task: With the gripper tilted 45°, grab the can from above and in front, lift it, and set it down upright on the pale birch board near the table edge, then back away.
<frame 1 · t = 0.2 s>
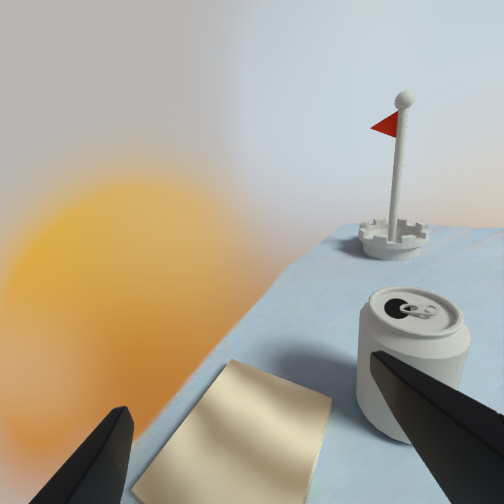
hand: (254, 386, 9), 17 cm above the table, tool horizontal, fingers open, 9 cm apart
flag stand: (390, 250, 55), on the table
board: (244, 449, 22), on the table
can: (397, 409, 24), on the table
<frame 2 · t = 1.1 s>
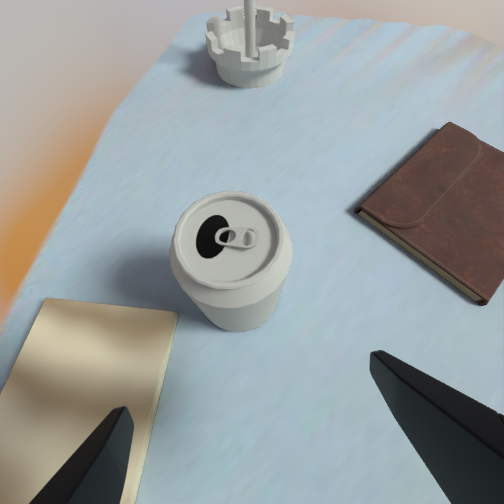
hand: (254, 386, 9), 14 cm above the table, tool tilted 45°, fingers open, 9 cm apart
flag stand: (250, 68, 41), on the table
board: (89, 391, 21), on the table
can: (239, 294, 25), on the table
notebook: (453, 205, 30), on the table
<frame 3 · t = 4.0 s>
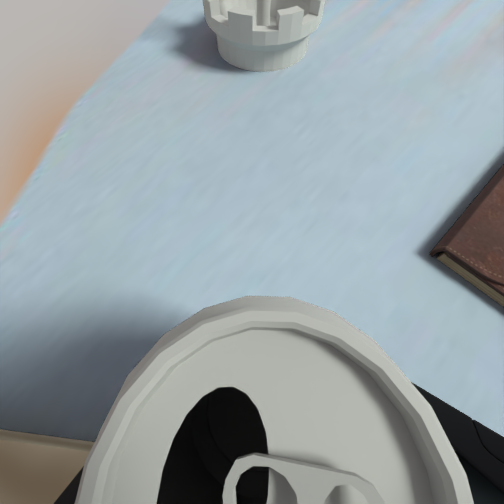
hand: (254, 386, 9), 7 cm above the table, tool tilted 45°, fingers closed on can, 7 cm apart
flag stand: (262, 47, 31), on the table
can: (258, 405, 15), on the table, touching gripper
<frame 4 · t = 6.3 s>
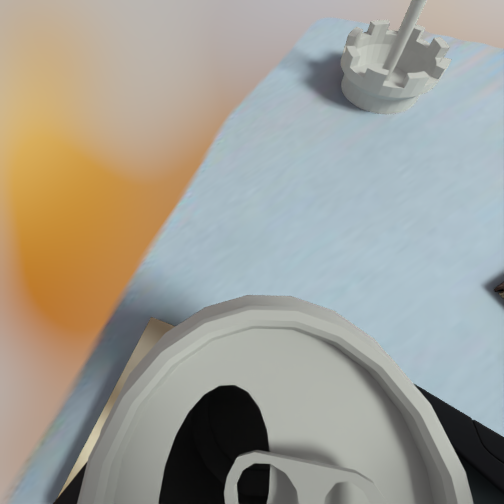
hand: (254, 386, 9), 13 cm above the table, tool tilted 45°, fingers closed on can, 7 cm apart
flag stand: (378, 90, 37), on the table
board: (181, 433, 19), on the table
can: (258, 404, 15), point 6 cm above the table, touching gripper
when the fingers open (9 cm above the table, at t = 9.0 s): can stays where it is, resting on board.
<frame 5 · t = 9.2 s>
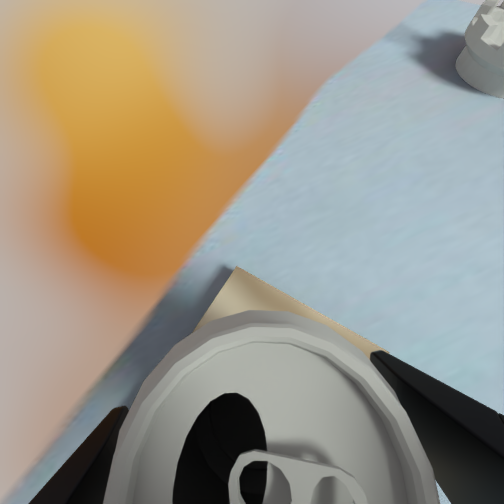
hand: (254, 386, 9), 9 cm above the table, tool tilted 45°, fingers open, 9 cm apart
flag stand: (499, 74, 32), on the table
board: (257, 400, 17), on the table
can: (258, 406, 15), point 1 cm above the table, touching board
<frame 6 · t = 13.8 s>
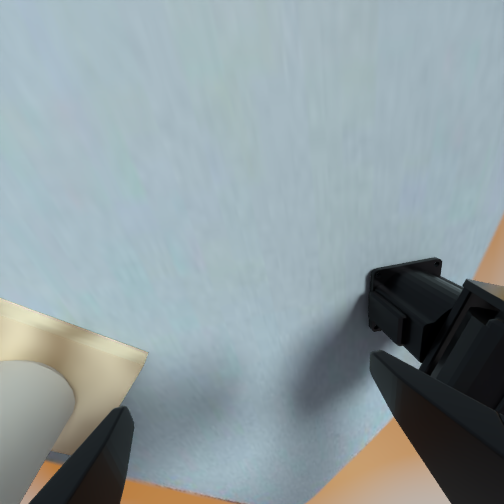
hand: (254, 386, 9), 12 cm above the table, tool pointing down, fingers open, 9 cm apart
board: (39, 375, 21), on the table
can: (31, 387, 20), point 1 cm above the table, touching board
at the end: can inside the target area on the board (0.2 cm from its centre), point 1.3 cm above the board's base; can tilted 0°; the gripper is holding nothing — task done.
